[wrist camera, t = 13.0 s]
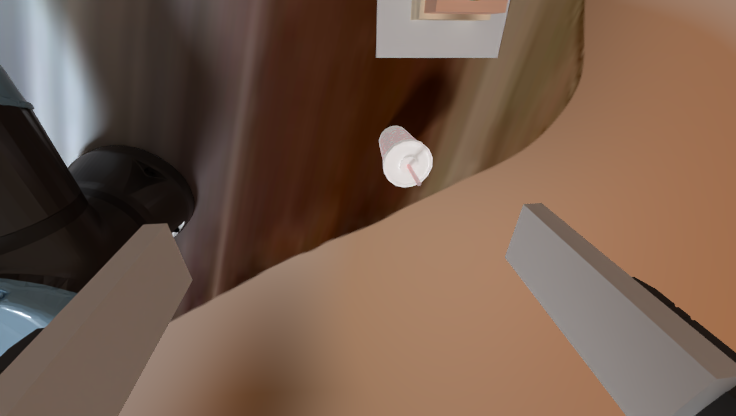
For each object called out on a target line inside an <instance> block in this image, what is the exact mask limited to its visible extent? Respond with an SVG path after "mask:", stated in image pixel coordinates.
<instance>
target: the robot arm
mask: <svg viewBox="0 0 736 416" xmlns="http://www.w3.org/2000/svg"><path fill="white" fill-rule="evenodd" d="M32 109H34V107H33V105H32V104H31V103H29V102H27V101H26V100H25V99H24V97H23V96H22V95H21V93H20V92H19V90H18V89H17V88H16V86H15V85H14V83H13V82H12V80H11V79H10V77H9V76H8V74H7V73H6V71H5V70H4V69H3V67H2V66H1V65H0V416H118V415H119V413H120V411H121V410H122V408H123V406H124V404H125V402H126V401H127V399H128V397H129V395H130V393H131V391H132V389H133V388H134V386H135V384H136V382H137V380H138V379H139V377H140V375H141V373H142V371H143V369H144V368H145V366H146V364H147V362H148V360H149V359H150V357H151V355H152V353H153V351H154V349H155V347H156V346H157V344H158V342H159V340H160V338H161V337H162V335H163V333H164V331H165V329H166V327H167V326H168V324H169V322H170V320H171V318H172V317H173V315H174V313H175V311H176V309H177V307H178V306H179V304H180V302H181V300H182V298H183V296H184V295H185V293H186V291H187V289H188V287H189V285H190V284H191V282H192V278H191V276H190V274H189V271H188V269H187V267H186V265H185V262H184V260H183V258H182V256H181V253H180V251H179V249H178V247H177V244H176V242H175V240H174V238H173V237H175V236H176V235H177V234H179V233H180V232H181V231H182V230H183V228H184V227H185V226H186V224H187V223H188V222H189V220H190V219H191V217H192V214H193V210H194V199H193V195H192V192H191V190H190V188H189V186H188V184H187V182H186V181H185V179H184V178H183V177H182V176H181V175H180V173H179V172H178V171H177V170H176V169H174V168H173V167H172V166H171V165H170V164H168V163H167V162H165V161H164V160H162V159H161V158H159V157H157V156H155V155H153V154H151V153H149V152H146V151H143V150H140V149H137V148H133V147H128V146H105V147H100V148H97V149H94V150H92V151H90V152H88V153H86V154H84V155H83V156H81V157H79V158H77V159H76V160H75V161H74V162H72V163H71V164H70V166H69V167H68V168H67V166H66V165H65V163H64V161H63V160H62V158H61V157H60V155H59V153H58V152H57V150H56V148H55V147H54V145H53V143H52V142H51V140H50V138H49V137H48V135H47V133H46V132H45V130H44V128H43V127H42V125H41V123H40V122H39V120H38V118H37V117H36V115H35V113H34V112H33V110H32ZM505 258H506V259H507V261H508V262H509V263H510V265H511V266H512V267H513V268H514V270H515V271H516V272H517V274H518V275H519V276H520V278H521V279H522V280H523V282H524V283H525V284H526V286H527V287H528V288H529V290H530V291H531V292H532V293H533V295H534V296H535V297H536V299H537V300H538V301H539V303H540V304H541V305H542V306H543V308H544V309H545V310H546V312H547V313H548V314H549V316H550V317H551V318H552V320H553V321H554V322H555V323H556V325H557V326H558V327H559V329H560V330H561V331H562V333H563V334H564V335H565V336H566V338H567V339H568V340H569V342H570V343H571V344H572V346H573V347H574V348H575V349H576V351H577V352H578V353H579V355H580V356H581V357H582V359H583V360H584V361H585V363H586V364H587V365H588V367H589V368H590V369H591V370H592V372H593V373H594V374H595V376H596V377H597V378H598V380H599V381H600V382H601V383H602V385H603V386H604V387H605V389H606V390H607V391H608V393H609V394H610V395H611V397H613V399H614V400H615V402H616V403H617V404H618V406H619V407H620V408H621V410H622V411H623V412H624V413H625V415H626V416H736V353H735V352H734V351H733V350H732V349H730V348H729V347H728V346H727V345H725V344H724V343H723V342H722V341H720V340H719V339H718V338H717V337H715V336H714V335H713V334H711V333H710V332H709V331H708V330H706V329H705V328H704V327H703V326H701V325H700V324H699V323H698V322H696V321H695V320H691V318H690V316H689V315H688V314H686V313H685V312H684V311H683V310H681V309H680V308H679V307H675V304H674V303H673V302H671V301H670V300H669V299H668V298H666V297H665V296H664V295H663V294H661V293H660V292H659V291H658V290H656V289H655V288H653V287H651V286H649V285H648V284H646V283H644V282H642V281H640V280H639V279H637V278H635V277H631V276H629V275H628V274H627V273H626V272H625V271H623V270H622V269H621V268H620V267H619V266H617V265H616V264H615V263H614V262H612V261H611V260H610V259H609V258H608V257H606V256H605V255H604V254H603V253H602V252H600V251H599V250H598V249H597V248H595V247H594V246H593V245H592V244H591V243H589V242H588V241H587V240H586V239H585V238H583V237H582V236H581V235H579V234H578V233H577V232H576V231H575V230H573V229H572V228H571V227H570V226H569V225H567V224H566V223H565V222H564V221H563V220H561V219H560V218H559V217H558V216H556V215H555V214H554V213H553V212H552V211H550V210H549V209H548V208H547V207H545V206H544V205H543V204H542V203H539V204H524V205H523V207H522V210H521V213H520V216H519V219H518V222H517V225H516V227H515V230H514V233H513V236H512V239H511V242H510V245H509V247H508V250H507V253H506V256H505Z"/></svg>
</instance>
